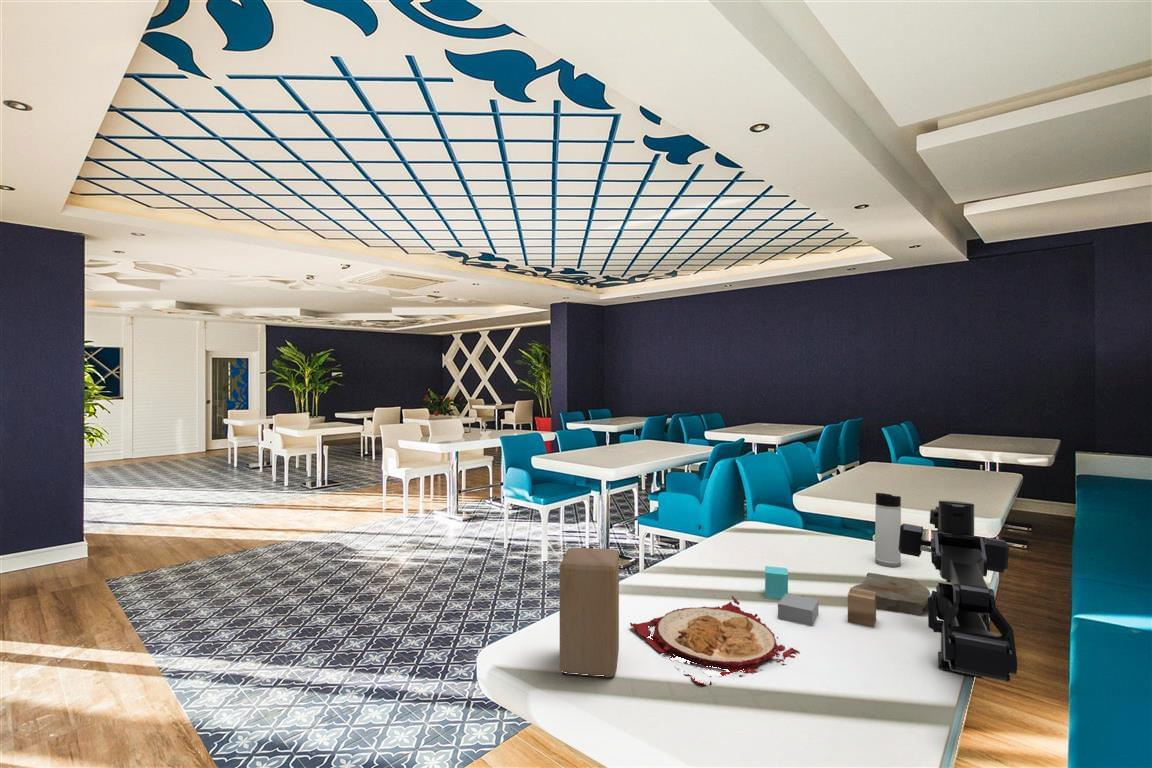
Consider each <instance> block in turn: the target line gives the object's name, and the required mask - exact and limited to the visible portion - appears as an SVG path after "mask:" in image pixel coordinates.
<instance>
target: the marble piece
mask: <svg viewBox="0 0 1152 768" xmlns="http://www.w3.org/2000/svg"><path fill="white" fill-rule="evenodd" d="M852 588H857V589H863V590H868V591H874V592H876V610H883V611H890V612H897V613H901V614H902V613H903V614H908V615H914V616H921V615H922V614H923V611H924V609H925V608H926V606H928V597H930V596H931V593H930V590H929V589H928V588H927V587H925V586H924V585H923V584H922V583H920V582H919V581H918V580H917V579H914V578H907V577H900V576H890V575H885V574H880V573H873V572H867V573H866V579H864V580H863V582H862V583H859V584H857V585H853V586H852Z"/></svg>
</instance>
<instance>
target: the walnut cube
mask: <svg viewBox="0 0 1152 768" xmlns="http://www.w3.org/2000/svg"><path fill="white" fill-rule="evenodd" d="M852 587H853V586H852ZM852 587H851V586H850V588H849V591H848V592H847V593H848V594H847V623H850V624H854V625H859V626H863V627H868V628H871V629H874V628H875V626H876V621H877V609H876V592H874V591H868V590H863V589H857V588H852Z"/></svg>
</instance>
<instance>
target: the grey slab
mask: <svg viewBox="0 0 1152 768" xmlns="http://www.w3.org/2000/svg"><path fill="white" fill-rule="evenodd" d="M819 601H820V600H819V599H815V598H811V597H805V596H800V595H795V594H791V593H788V594H786V593H785V595H784V596H783V598H782V599H779V602H778V603H777V619H778V620H782V621H787V622H791V623H797V624H801V625H806V626H809V627H810V626H811V627H813V626H814V624H815V622H816V620H817V618H818V616H819Z"/></svg>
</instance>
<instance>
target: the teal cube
mask: <svg viewBox="0 0 1152 768" xmlns="http://www.w3.org/2000/svg"><path fill="white" fill-rule="evenodd" d="M788 589H789V573H788V568H787V567H781V566H780V567H778V566H771V565H770V566H768V565H765V566H764V594H765V596H764V597H765V598H766V599H773V600H775V599H776V600H781V599H782V598H783V596H784V595H785V593H786V594H789V590H788Z"/></svg>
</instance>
